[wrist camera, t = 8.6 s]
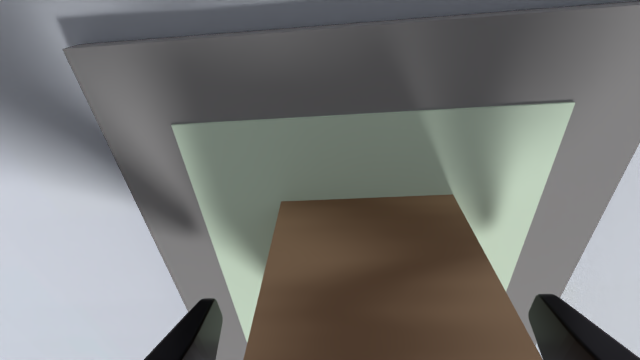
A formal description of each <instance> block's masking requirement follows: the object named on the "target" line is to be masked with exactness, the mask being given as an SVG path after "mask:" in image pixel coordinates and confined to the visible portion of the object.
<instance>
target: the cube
mask: <svg viewBox="0 0 640 360" xmlns="http://www.w3.org/2000/svg"><path fill="white" fill-rule="evenodd" d="M243 360H542V358H541V356H540V354H539V352H538V350H537V348H536V347H535V345H534V343H533V341H532V339H531V337H530V336H529V334H528V332H527V330H526V328H525V326H524V324H523V323H522V321H521V319H520V317H519V315H518V313H517V312H516V310H515V308H514V306H513V304H512V302H511V300H510V299H509V297H508V295H507V293H506V291H505V289H504V287H503V286H502V284H501V282H500V280H499V278H498V276H497V275H496V273H495V271H494V269H493V267H492V265H491V263H490V262H489V260H488V258H487V256H486V254H485V252H484V251H483V249H482V247H481V245H480V243H479V241H478V239H477V238H476V236H475V234H474V232H473V230H472V228H471V227H470V225H469V223H468V221H467V219H466V217H465V215H464V214H463V212H462V210H461V208H460V206H459V204H458V203H457V201H456V199H455V197H454V195H453V194H451V195H426V196H402V197H378V198H353V199H329V200H305V201H281V204H280V208H279V212H278V217H277V221H276V225H275V229H274V233H273V238H272V242H271V246H270V250H269V254H268V258H267V263H266V267H265V271H264V275H263V279H262V284H261V288H260V292H259V296H258V300H257V305H256V309H255V313H254V317H253V321H252V326H251V330H250V334H249V338H248V342H247V347H246V351H245V355H244V359H243Z"/></svg>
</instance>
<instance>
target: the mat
mask: <svg viewBox="0 0 640 360" xmlns="http://www.w3.org/2000/svg"><path fill="white" fill-rule="evenodd" d="M63 51H64V54H65V56H66V58H67V60H68V62H69V64H70V66H71V68H72V70H73V72H74V74H75V77H76V79H77V81H78V83H79V85H80V87H81V89H82V91H83V93H84V95H85V97H86V99H87V102H88V104H89V106H90V108H91V110H92V112H93V114H94V116H95V118H96V120H97V122H98V124H99V127H100V129H101V131H102V133H103V135H104V137H105V139H106V141H107V143H108V145H109V147H110V150H111V152H112V154H113V156H114V158H115V160H116V162H117V164H118V166H119V168H120V170H121V172H122V175H123V177H124V179H125V181H126V183H127V185H128V187H129V189H130V191H131V193H132V195H133V197H134V200H135V202H136V204H137V206H138V208H139V210H140V212H141V214H142V216H143V218H144V220H145V223H146V225H147V227H148V229H149V231H150V233H151V235H152V237H153V239H154V241H155V243H156V245H157V248H158V250H159V252H160V254H161V256H162V258H163V260H164V262H165V264H166V266H167V268H168V270H169V273H170V275H171V277H172V279H173V281H174V283H175V285H176V287H177V289H178V291H179V293H180V296H181V298H182V300H183V302H184V304H185V306H186V308H187V310H188V312H189V311H190V310H191V309H192V308H193V307H194V306H195V305H196V304H197V302H198V301H199V300H201V299H203V298H215V299H216V300H217V302H218V305H219V307H220V310H221V313H222V316H223V323H222V328H221V334H220V339H219V344H218V350H217V355H216V360H243V359H244V355H245V351H246V347H247V342H248V338H249V334H250V330H251V326H252V321H253V317H254V313H255V309H256V305H257V300H258V296H259V292H260V288H261V284H262V279H263V275H264V271H265V267H266V263H267V258H268V254H269V250H270V246H271V242H272V238H273V233H274V229H275V225H276V221H277V217H278V212H279V208H280V204H281V201H305V200H329V199H353V198H378V197H402V196H426V195H451V194H453V195H454V197H455V199H456V201H457V203H458V204H459V206H460V208H461V210H462V212H463V214H464V215H465V217H466V219H467V221H468V223H469V225H470V227H471V228H472V230H473V232H474V234H475V236H476V238H477V239H478V241H479V243H480V245H481V247H482V249H483V251H484V252H485V254H486V256H487V258H488V260H489V262H490V263H491V265H492V267H493V269H494V271H495V273H496V275H497V276H498V278H499V280H500V282H501V284H502V286H503V287H504V289H505V291H506V293H507V295H508V297H509V299H510V300H511V302H512V304H513V306H514V308H515V310H516V312H517V313H518V315H519V317H520V319H521V321H522V323H523V324H524V326H525V328H526V330H527V332H528V334H529V336H530V337H531V339H532V341H533V343H534V345H536V343H537V341H536V338H535V336H534V333H533V330H532V327H531V325H530V322H529V318H528V312H529V309H530V307H531V305H532V303H533V300H534V298H535V296H536V295H538V294H554V295H556V296H558V297H559V298H560V297H561V295H562V293H563V291H564V289H565V287H566V285H567V283H568V281H569V279H570V277H571V275H572V273H573V271H574V269H575V267H576V265H577V263H578V262H579V260H580V258H581V256H582V254H583V252H584V250H585V248H586V246H587V244H588V242H589V240H590V238H591V236H592V234H593V232H594V230H595V228H596V227H597V225H598V223H599V221H600V219H601V217H602V215H603V213H604V211H605V209H606V207H607V205H608V203H609V201H610V199H611V197H612V195H613V193H614V192H615V190H616V188H617V186H618V184H619V182H620V180H621V178H622V176H623V174H624V172H625V170H626V168H627V166H628V164H629V162H630V160H631V158H632V156H633V155H634V153H635V151H636V149H637V147H638V145H639V143H640V1H635V2H622V3H609V4H596V5H583V6H570V7H558V8H545V9H532V10H519V11H506V12H493V13H480V14H467V15H454V16H441V17H428V18H415V19H402V20H389V21H377V22H364V23H351V24H338V25H325V26H312V27H299V28H286V29H273V30H260V31H247V32H234V33H221V34H208V35H196V36H183V37H170V38H157V39H144V40H131V41H118V42H105V43H92V44H80V45H76V46H72V47H68V48H65V49H63Z"/></svg>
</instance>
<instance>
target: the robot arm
mask: <svg viewBox="0 0 640 360" xmlns="http://www.w3.org/2000/svg"><path fill="white" fill-rule="evenodd" d="M528 318H529V322H530V325H531V327H532V330H533V333H534V336H535V338H536V341H537V344H538V347H539V349H540V352H541V355H542V358H543V360H640V358H639V357H637V356H636V355H635V354H634V353H632V352H631V351H630V350H628V349H627V348H626V347H624V346H623V345H622V344H620V343H619V342H618V341H616V340H615V339H614V338H612V337H611V336H610V335H608V334H607V333H606V332H604V331H603V330H602V329H600V328H599V327H598V326H596V325H595V324H594V323H592V322H591V321H590V320H588V319H587V318H586V317H584V316H583V315H582V314H580V313H579V312H578V311H576V310H575V309H574V308H572V307H571V306H570V305H568V304H567V303H566V302H564V301H563V300H562V299H561V298H559V297H558V296H556V295H554V294H538V295H536V296H535V298H534V300H533V303H532V305H531V307H530V309H529V312H528ZM222 323H223V316H222V313H221V310H220V307H219V305H218V302H217V300H216V299H215V298H203V299H201V300H199V301H198V302H197V304H196V305H195V306H194V307H193V308H192V309H191V310H190V311H189V312H188V313H187V314H186V315H185V316H184V317H183V318H182V320H181V321H180V322H179V323H178V324H177V325H176V326H175V327H174V328H173V329H172V330H171V331H170V332H169V333H168V334H167V335H166V337H165V338H164V339H163V340H162V341H161V342H160V343H159V344H158V345H157V346H156V347H155V348H154V349H153V350H152V351H151V353H150V354H149V355H148V356H147V357H146V358H145V359H144V360H216V355H217V350H218V344H219V339H220V334H221V328H222Z"/></svg>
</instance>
